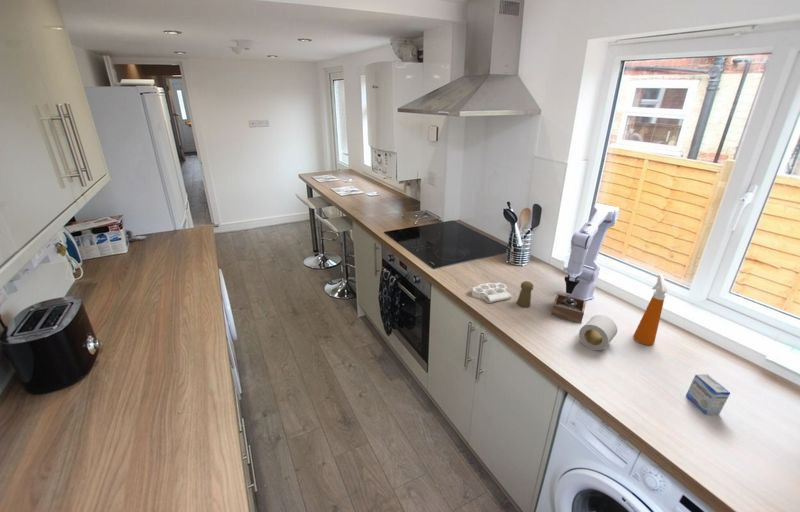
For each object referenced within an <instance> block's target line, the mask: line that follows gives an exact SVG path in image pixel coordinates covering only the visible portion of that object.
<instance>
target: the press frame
mask: <svg viewBox="0 0 800 512" xmlns="http://www.w3.org/2000/svg"><path fill="white" fill-rule="evenodd" d="M567 297H571V296H569V295H565V294H561V293H556V296H555V298H554V301H553V305H552V308H551V313H550V316H553V317H557V318H561V319H563V320H567V321H572V322H575V323H579V324H582V321H583V318H584V315H585V309H586V304H587V300H582V299H578V298H574V297H572V298H574V299H575V300H574V301H576V302H577V306H574V307H576V308H580V311H578V310H574V309H570V308H566V307H562V306H559V305H558V303H560V304H564V303H563V300H564V299H567ZM564 305H565V304H564Z"/></svg>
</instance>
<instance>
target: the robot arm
mask: <svg viewBox="0 0 800 512" xmlns="http://www.w3.org/2000/svg"><path fill="white" fill-rule="evenodd" d="M590 214H591V219H590V220H589V221H587V222H585V223H584V224H583V225H582V227H581V228H580V229H579V231H576V232H574V233H573V235H572V237H571V241H570V250H571V251H570V254H569V259H568V263H567V267H566V266H565V267H564V268H563V271H565V272H567V276H564V282H565V293H566V294H567V295H566V296H570V297H574V298H578V299H582V300H586V301H589V300H592V299H595V296H594V294H595V289H596V287H597V285H596V281H597V280H598V277H599V274H600V270H601V269H600V268H601V267H600V265H599V264H598V263H597V258H598V256H599V254H600V250H601V248H602V245H603V243H604V240H605V238H606V235H607V232H608V231H609V229H610V228H611V227H614V226H615V225H616V223H617V220H618V218H619V215H620V207H619V206H612V205H606V204H603V203H602V204H601V203H597V202H596V203H595V204H594V205H593V206H592V209H591V213H590Z"/></svg>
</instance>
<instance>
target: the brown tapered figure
mask: <svg viewBox="0 0 800 512" xmlns="http://www.w3.org/2000/svg"><path fill="white" fill-rule="evenodd" d="M533 289H534V284H533V283H532V282H531V281H528V280H527V281H522V282H521V284H520V291H519V295H518V298H517V300H516V305H517V307H520V308H524V309H528V308H530V307H531V303H532V302H531V299H532V290H533Z"/></svg>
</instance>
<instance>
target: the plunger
mask: <svg viewBox="0 0 800 512" xmlns="http://www.w3.org/2000/svg"><path fill="white" fill-rule="evenodd" d="M574 300H575V299H574V298H572V297H571V296H570V297H567V299H564V300H563V303H564V304H565V305H564V304H560V303H558V304H557V305H559V306H562V307H566V308H570V309H574V310H578V311H581V310H580V308H576V307H574V306H577V302H576V301H574Z"/></svg>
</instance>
